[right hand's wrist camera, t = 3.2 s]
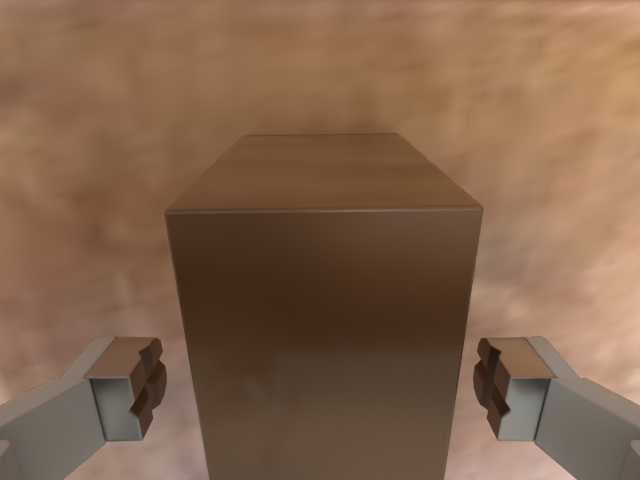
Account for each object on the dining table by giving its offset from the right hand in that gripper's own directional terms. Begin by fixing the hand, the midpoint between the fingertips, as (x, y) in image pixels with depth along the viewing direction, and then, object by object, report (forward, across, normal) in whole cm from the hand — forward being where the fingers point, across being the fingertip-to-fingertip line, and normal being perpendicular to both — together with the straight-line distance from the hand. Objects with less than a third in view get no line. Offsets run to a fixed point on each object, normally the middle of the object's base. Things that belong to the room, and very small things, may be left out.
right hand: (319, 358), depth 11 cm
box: (+8, 0, +9) cm, 12 cm away
